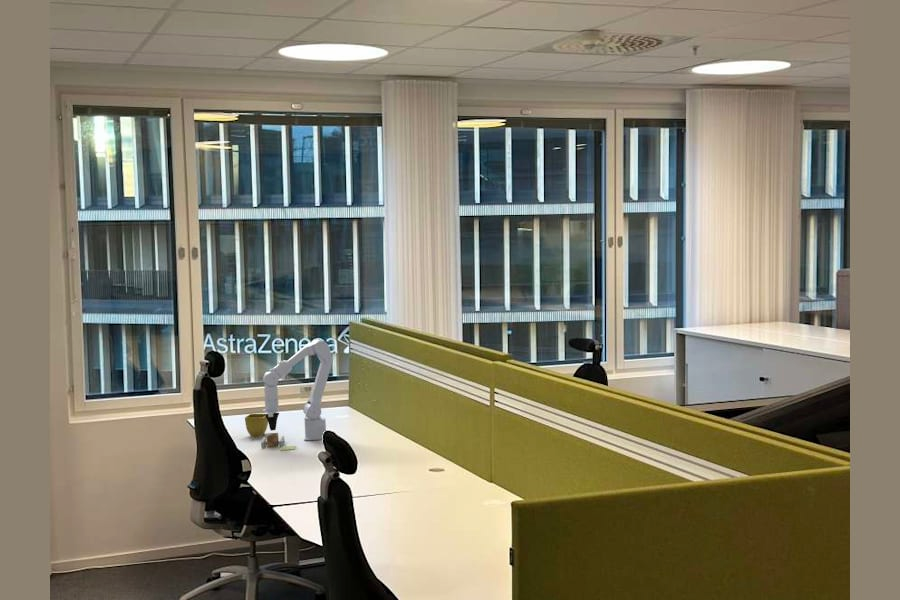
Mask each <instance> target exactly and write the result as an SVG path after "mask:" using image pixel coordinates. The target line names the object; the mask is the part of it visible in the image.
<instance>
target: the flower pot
mask: <svg viewBox="0 0 900 600" xmlns="http://www.w3.org/2000/svg"><path fill="white" fill-rule="evenodd" d="M266 414H267V413H250V414H247V416H245V417H244V422H245V428H246V431H247V432H248V435H250V436H251V437H258V436H259V437H261V436H264V434H265V433H266V431H267V428H268V426H269V423H268V420H267V418H266V416H265V415H266Z"/></svg>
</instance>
